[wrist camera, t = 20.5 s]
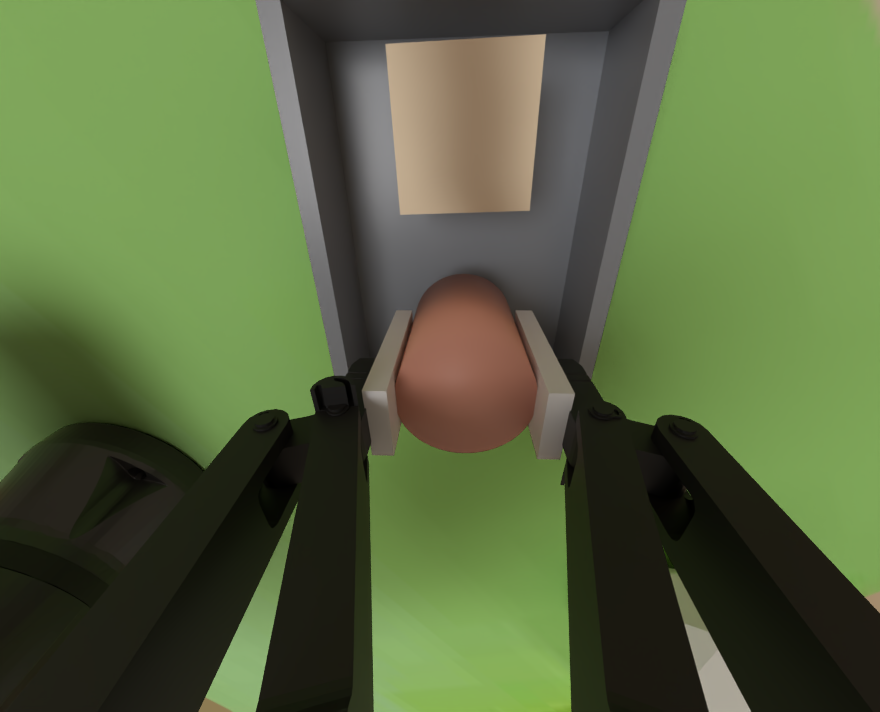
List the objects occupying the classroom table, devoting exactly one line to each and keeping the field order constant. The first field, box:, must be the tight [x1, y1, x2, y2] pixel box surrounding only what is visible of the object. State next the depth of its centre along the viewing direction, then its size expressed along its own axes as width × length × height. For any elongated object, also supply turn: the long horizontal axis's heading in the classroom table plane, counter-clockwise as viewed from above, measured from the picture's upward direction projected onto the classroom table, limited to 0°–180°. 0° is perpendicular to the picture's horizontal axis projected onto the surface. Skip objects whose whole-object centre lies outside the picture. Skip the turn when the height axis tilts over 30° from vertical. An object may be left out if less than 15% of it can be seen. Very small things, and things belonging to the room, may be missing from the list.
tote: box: [256, 0, 686, 380], centre depth 16 cm, size 18×14×5 cm
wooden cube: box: [385, 34, 546, 215], centre depth 14 cm, size 5×5×5 cm
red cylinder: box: [395, 274, 538, 453], centre depth 14 cm, size 5×5×7 cm
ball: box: [669, 568, 751, 712], centre depth 26 cm, size 17×25×24 cm
